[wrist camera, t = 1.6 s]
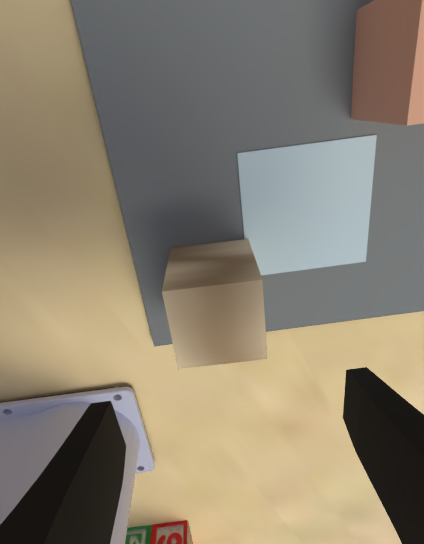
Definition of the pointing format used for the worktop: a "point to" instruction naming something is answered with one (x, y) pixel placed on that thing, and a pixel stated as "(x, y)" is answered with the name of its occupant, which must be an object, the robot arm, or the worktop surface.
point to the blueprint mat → (256, 152)
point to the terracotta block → (389, 63)
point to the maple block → (215, 304)
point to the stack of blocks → (160, 534)
